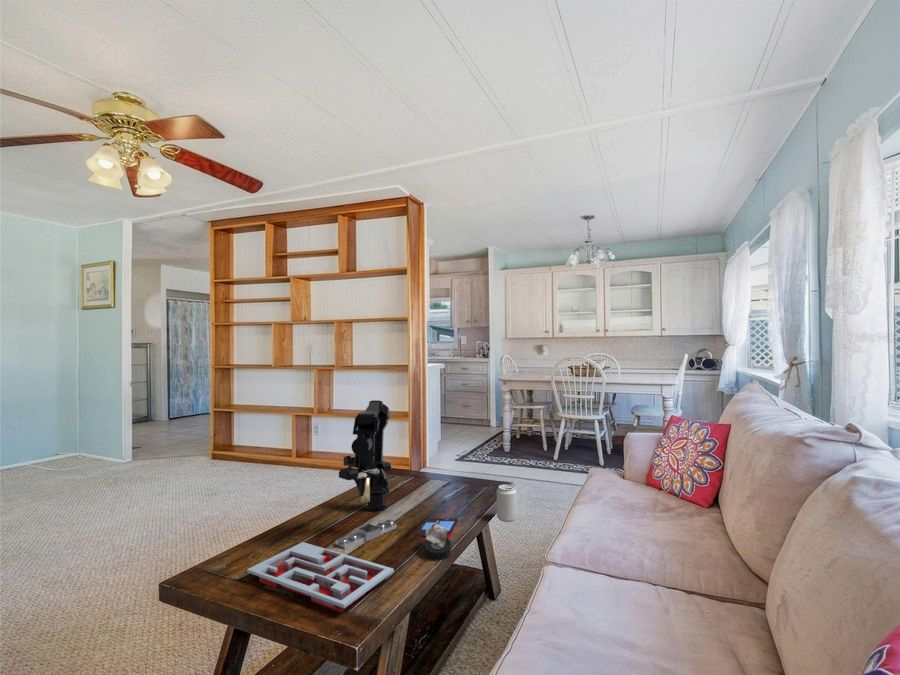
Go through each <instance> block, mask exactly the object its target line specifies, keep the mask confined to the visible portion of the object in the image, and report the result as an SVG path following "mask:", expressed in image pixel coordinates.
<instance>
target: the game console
mask: <svg viewBox="0 0 900 675" xmlns="http://www.w3.org/2000/svg"><path fill="white" fill-rule="evenodd" d="M438 520H439V525H440V526H442V527H444V528H446V530H447V536H446V537H447V538H448V539H450V537H451V538H452V537H453V535H452V534H454V533H455V531H456V529H455V527H458V526H459V520H458V519H457V518H451V517H450V518H448V517H447V518H445V517H444V518H440V517H439V518H437V517H435V518H434V517H429V518H428V517H427V518H426V519H424V522H422V524H421V525H420V527H419V528H418V529H417V531H416V532H415V533H414V535H415V536H417V537H424V536H426V530H427V529H428V528H429V527H430V526H432V525H433V524H434V523H435V522H436V521H438ZM457 525H458V526H457Z"/></svg>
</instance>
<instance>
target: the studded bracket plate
mask: <svg viewBox="0 0 900 675" xmlns="http://www.w3.org/2000/svg"><path fill="white" fill-rule="evenodd" d="M397 526H398V525H397V524H396V523H395V520H393V519H387V520H385V521H383V522H379V523H377V524H375V525H374V524H372V523H366V524H363V525H362V526H359V527H356V528H354V533H351V534H349V535H346V536H345V537H339V538H338V539H336V540H335V545H336V546H338V547H339V548H342V549H344V550H346V549H349V548H351V547H354V546H355V545H359V544H360V543H364V542H368V541H370V540H373V539H375V538H379V537H380V536H381V535H383V534H385V533H388V532H391V531H393V530H395V529H396V530H397Z"/></svg>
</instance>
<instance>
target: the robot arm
mask: <svg viewBox="0 0 900 675" xmlns="http://www.w3.org/2000/svg"><path fill="white" fill-rule="evenodd" d="M390 417H391V416H390V409H389V407H388V406H387V405H386V404H384V401H383V400H375V399H373V400H370V401H368V405H367V407H366V409H365V410H364V411H361V412H358V414H357V415H356V416H355V417H354V422H353V423H354V424H353V427H352V435H356V438H355V439H354V440H353V441H352V443H351V446H350V447H351V451H352V452H353V454H354V456H353V457H352V456H351V455H346V456H344V457H343V465H344V467H345V468H341V469H340V470H339V471H338V478H339V479H342V480H347V481H352V480H353V481H354V483H355V485H356V487H357V490H358V493H359V496H360V497H361V496H363V494H364V488H365V481H366V476H367V477H370V501H369V502H367V506H365V509H367V510H369V511H372V512H375V513H378V512H380V511H383V510H386V509H388V508H389V506H388V505H386V503H387V501H386V495H388V494H390V483H389V482H390V481H388V478H387V472H391V471H392V464H391V463H390V462H388V461H384V460H383V459H384V458H383V457H384V435H385V434H384V431H385V429H386V427H387V426H388V424H389V420H390ZM346 466H347V467H346ZM364 474H366V476H364Z"/></svg>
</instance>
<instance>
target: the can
mask: <svg viewBox="0 0 900 675" xmlns="http://www.w3.org/2000/svg"><path fill="white" fill-rule="evenodd" d="M517 492H518V491H517V490H516V487H515V486H514V485H513V484H500V485H498V488H497V489H496V517H497V519H498V520H499V521H500V522H504V523H509V522H511V523H512V522H514V521H515V520H516V519H517V518H518V510H517V509H518V504H517V502H518V499H517V498H518V493H517Z"/></svg>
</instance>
